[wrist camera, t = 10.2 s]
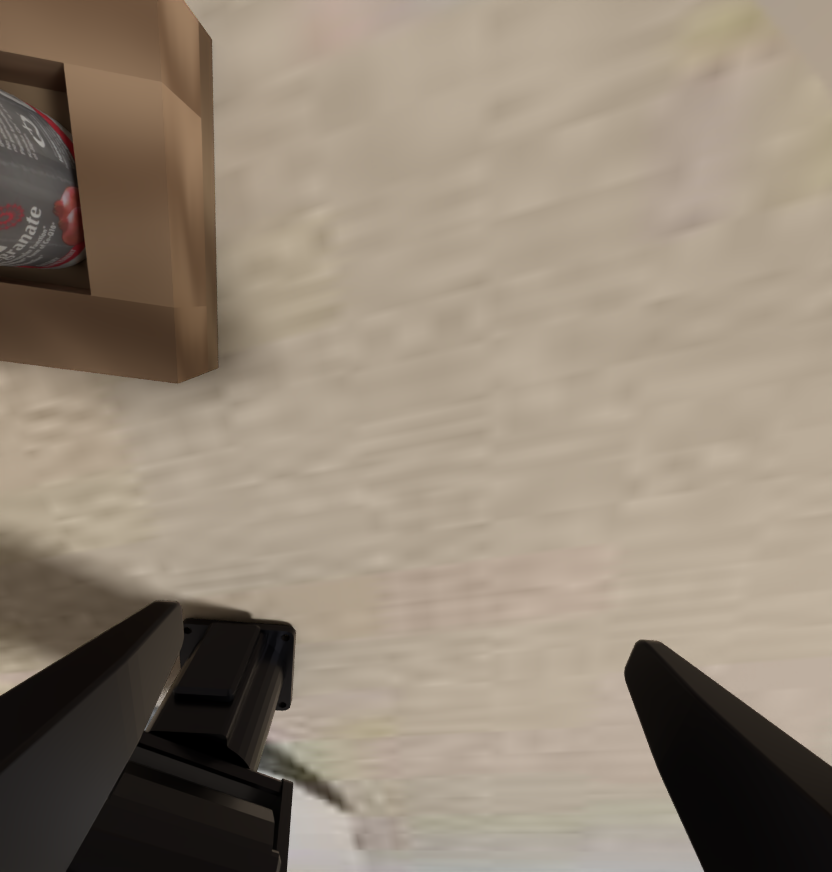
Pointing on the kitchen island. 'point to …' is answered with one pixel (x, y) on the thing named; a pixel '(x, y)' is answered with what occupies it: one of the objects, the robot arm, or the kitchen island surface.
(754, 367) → the kitchen island surface
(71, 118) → the socket block
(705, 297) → the kitchen island surface
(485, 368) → the kitchen island surface
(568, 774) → the kitchen island surface
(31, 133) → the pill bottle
